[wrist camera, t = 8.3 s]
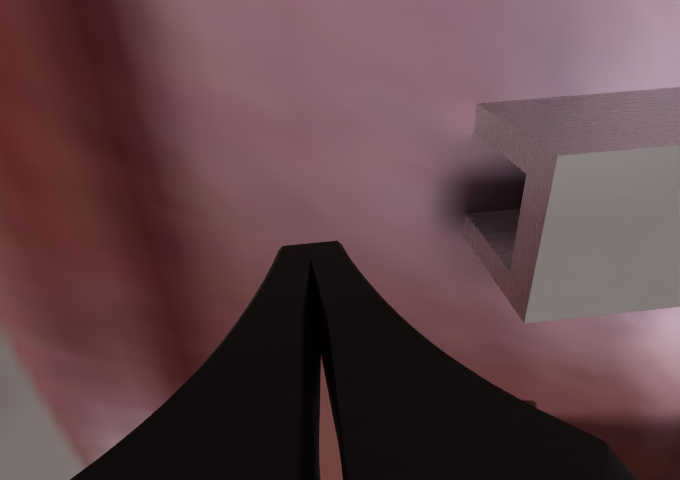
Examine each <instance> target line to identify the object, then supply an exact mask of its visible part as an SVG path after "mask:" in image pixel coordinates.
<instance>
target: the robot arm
mask: <svg viewBox="0 0 680 480" xmlns="http://www.w3.org/2000/svg"><path fill="white" fill-rule="evenodd" d="M321 357H322V362H323V367H324V372H325V377H326V383H327V388H328V393H329V398H330V403H331V408H332V413H333V418H334V424H335V429H336V434H337V439H338V445H339V451H340V458H341V465H342V474H343V480H636V479H635V477H634V476H633V475H632V473H631V472H630V471H629V470H628V469H627V468H626V466H625V465H624V464H623V463H622V462H621V460H620V459H619V458H618V457H617V456H616V454H615V453H614V452H613V451H612V449H611V448H610V447H609V445H608V444H607V443H606V442H605V441H603V440H601V439H599V438H597V437H595V436H593V435H591V434H589V433H587V432H584V431H582V430H580V429H578V428H576V427H574V426H572V425H570V424H568V423H566V422H564V421H562V420H560V419H557V418H555V417H553V416H551V415H549V414H547V413H545V412H543V411H541V410H539V409H537V408H535V407H533V406H531V405H529V404H527V403H525V402H524V401H522V400H520V399H518V398H516V397H515V396H513V395H511V394H509V393H508V392H506V391H504V390H502V389H500V388H499V387H497V386H495V385H493V384H492V383H490V382H488V381H487V380H485V379H484V378H482V377H480V376H479V375H477V374H476V373H474V372H473V371H471V370H470V369H468V368H467V367H465V366H464V365H462V364H461V363H459V362H458V361H456V360H455V359H453V358H452V357H450V356H449V355H447V354H446V353H445V352H443V351H442V350H441V349H439V348H438V347H437V346H435V345H434V344H433V343H431V342H430V341H429V340H428V339H426V338H425V337H424V336H423V335H422V334H420V333H419V332H418V331H417V330H415V329H414V328H413V327H412V326H411V325H410V324H409V323H408V322H406V321H405V320H404V319H403V318H402V317H401V316H400V315H399V314H398V313H397V312H396V311H395V310H394V309H393V308H392V307H391V306H390V305H389V304H388V303H387V302H386V301H385V300H384V299H383V298H382V297H381V296H380V295H379V294H378V292H377V291H376V290H375V289H374V288H373V287H372V286H371V284H370V283H369V282H368V281H367V280H366V279H365V277H364V276H363V275H362V274H361V272H360V271H359V270H358V269H357V267H356V266H355V264H354V263H353V262H352V260H351V259H350V257H349V256H348V254H347V253H346V251H345V250H344V248H343V246H342V244H340V243H339V242H338V241H330V242H320V243H309V244H299V245H289V246H282V247H281V249H280V250H279V251H278V253H277V255H276V258H275V260H274V262H273V264H272V266H271V268H270V270H269V272H268V274H267V276H266V277H265V279H264V281H263V283H262V284H261V286H260V288H259V289H258V291H257V293H256V294H255V296H254V298H253V299H252V301H251V302H250V304H249V305H248V307H247V308H246V310H245V311H244V313H243V314H242V315H241V317H240V318H239V320H238V321H237V322H236V324H235V325H234V327H233V328H232V329H231V331H230V332H229V333H228V335H227V336H226V337H225V339H224V340H223V341H222V342H221V344H220V345H219V346H218V347H217V348H216V350H215V351H214V352H213V353H212V354H211V355H210V357H209V358H208V359H207V360H206V361H205V362H204V363H203V365H202V366H201V367H200V368H199V369H198V370H197V371H196V372H195V373H194V374H193V375H192V376H191V377H190V378H189V379H188V380H187V381H186V382H185V383H184V384H183V385H182V386H181V387H180V388H179V389H178V390H177V391H176V392H175V393H174V394H173V395H172V396H171V397H170V398H169V399H168V400H167V401H166V402H165V403H164V404H163V405H162V406H161V407H160V408H159V409H158V410H156V411H155V412H154V413H153V414H152V415H151V416H150V417H148V418H147V419H146V420H145V421H144V422H143V423H142V424H140V425H139V426H138V427H137V428H136V429H134V430H133V431H132V432H131V433H130V434H128V435H127V436H126V437H125V438H124V439H122V440H121V441H120V442H119V443H117V444H116V445H115V446H114V447H113V448H111V449H110V450H109V451H107V452H106V453H105V454H104V455H102V456H101V457H100V458H99V459H97V460H96V461H95V462H93V463H92V464H91V465H89V466H88V467H87V468H85V469H84V470H82V471H81V472H80V473H78V474H77V475H76V476H74V477H73V478H72V479H70V480H320V468H319V417H320V369H321Z"/></svg>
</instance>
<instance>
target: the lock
mask: <svg viewBox="0 0 680 480" xmlns="http://www.w3.org/2000/svg"><path fill="white" fill-rule="evenodd" d="M474 132H475V133H476V134H477V135H479V136H480V137H481V138H482V139H484V140H485V141H486V142H487V143H489V144H490V145H491V146H492V147H493V148H495V149H496V150H497V151H498V152H500V153H501V154H502V155H503V156H505V157H506V158H507V159H508V160H510V161H511V162H512V163H513V164H515V165H516V166H517V167H518V168H520V169H521V170H522V171H523V172H524V173H526V179H525V185H524V191H523V197H522V203H521V209H510V210H500V211H489V212H479V213H468V214H466V217H465V227H464V237H465V238H466V239H467V241H468V242H469V244H470V245H471V247H472V248H473V250H474V251H475V253H476V254H477V255H478V257H479V258H480V260H481V261H482V263H483V264H484V266H485V267H486V269H487V270H488V271H489V273H490V274H491V276H492V277H493V279H494V280H495V282H496V283H497V285H498V286H499V288H500V289H501V290H502V292H503V293H504V295H505V296H506V298H507V299H508V301H509V302H510V304H511V305H512V306H513V308H514V309H515V311H516V312H517V314H518V315H519V317H520V318H521V320H522V321H523V322H524V323H533V322H542V321H551V320H560V319H569V318H579V317H588V316H597V315H606V314H615V313H625V312H634V311H643V310H652V309H661V308H671V307H680V87H675V88H663V89H651V90H638V91H626V92H614V93H601V94H589V95H577V96H564V97H552V98H540V99H528V100H515V101H503V102H491V103H478V104H477V105H476V115H475V125H474Z"/></svg>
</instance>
